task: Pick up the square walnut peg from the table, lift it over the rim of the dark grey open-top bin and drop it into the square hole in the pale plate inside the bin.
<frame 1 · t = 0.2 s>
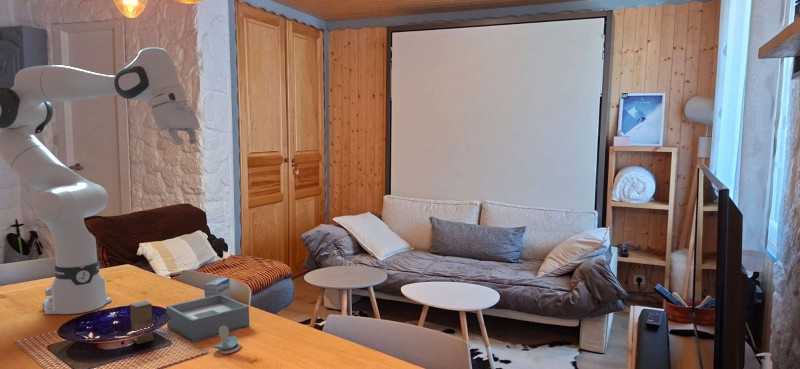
hand: (187, 144, 166), 52 cm above the table, tool tilted 20°, fingers open, 8 cm apart
medicine box: (218, 308, 174), on the table
bin: (208, 326, 157), on the table
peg: (142, 340, 148), on the table
pacifier: (227, 350, 141), on the table
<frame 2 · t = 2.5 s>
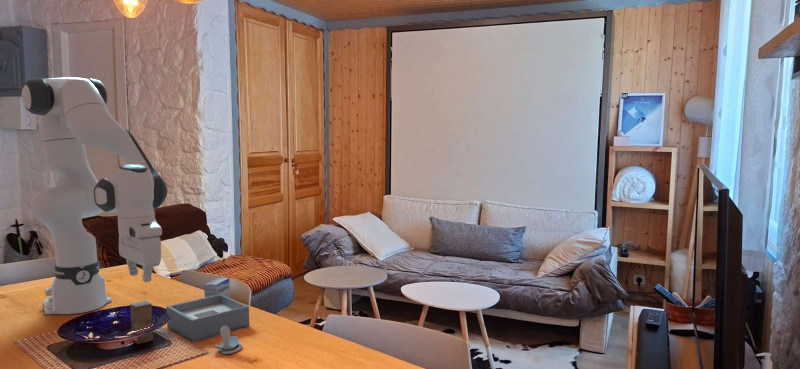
hand: (140, 278, 146), 17 cm above the table, tool pointing down, fingers open, 8 cm apart
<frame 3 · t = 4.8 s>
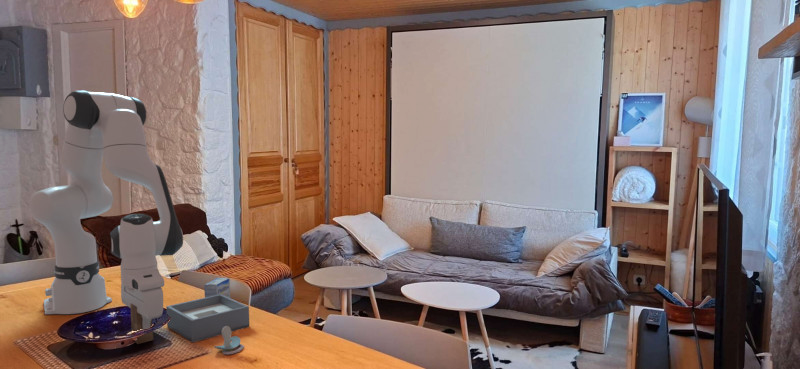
hand: (142, 326, 147), 4 cm above the table, tool pointing down, fingers closed on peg, 4 cm apart
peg: (142, 339, 148), on the table, touching gripper
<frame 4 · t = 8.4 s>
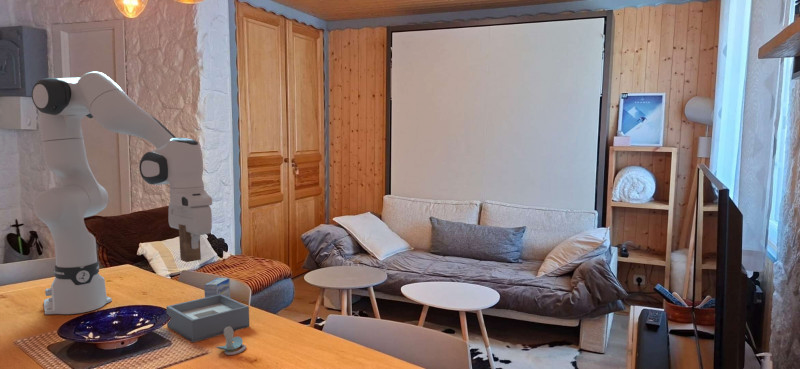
hand: (190, 246, 152), 24 cm above the table, tool pointing down, fingers closed on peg, 4 cm apart
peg: (190, 259, 153), point 20 cm above the table, touching gripper
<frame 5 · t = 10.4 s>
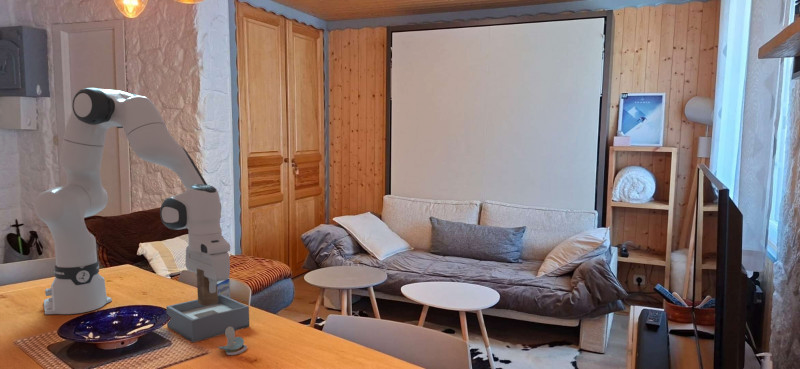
hand: (207, 290, 156), 11 cm above the table, tool pointing down, fingers closed on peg, 4 cm apart
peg: (207, 302, 157), point 7 cm above the table, touching gripper
when the fingers open (6 cm above the table, at t = 12.1 s): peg drops 1 cm, resting on bin.
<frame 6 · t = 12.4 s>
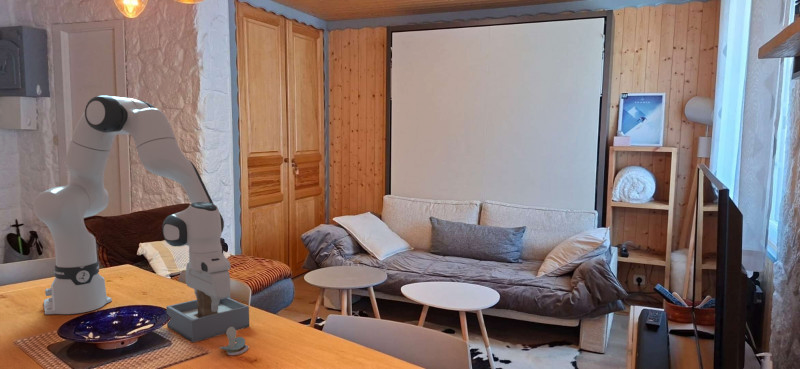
hand: (207, 307, 157), 6 cm above the table, tool pointing down, fingers open, 7 cm apart
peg: (208, 323, 157), point 1 cm above the table, touching bin
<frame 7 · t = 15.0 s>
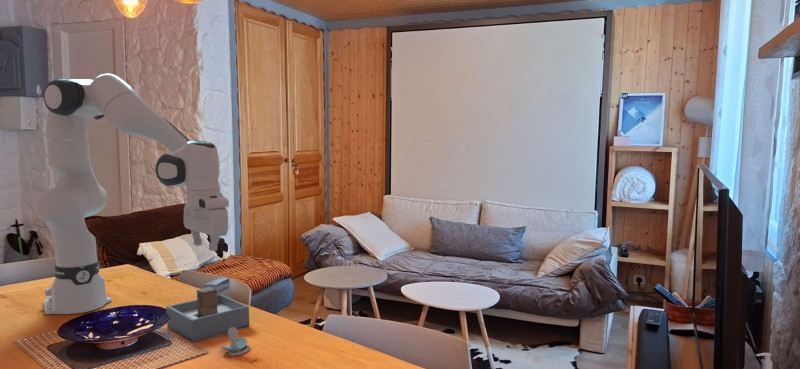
hand: (205, 247, 155), 23 cm above the table, tool pointing down, fingers open, 8 cm apart
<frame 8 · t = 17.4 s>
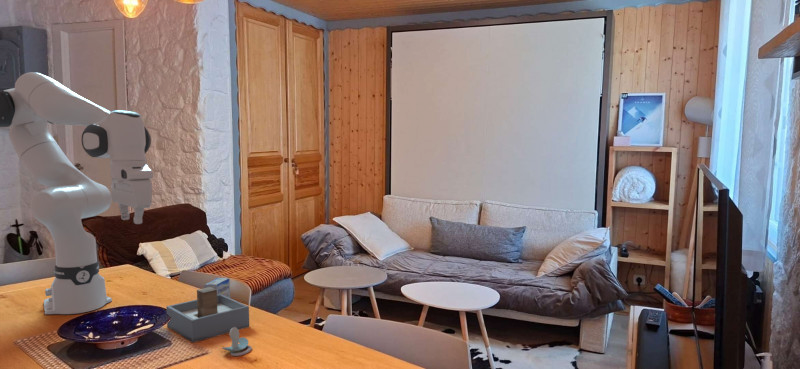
hand: (131, 221, 150), 31 cm above the table, tool pointing down, fingers open, 8 cm apart
at the end: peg 0.1 cm off-centre on the bin, point 0.8 cm above the bin's base; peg tilted 0°; the gripper is holding nothing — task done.
